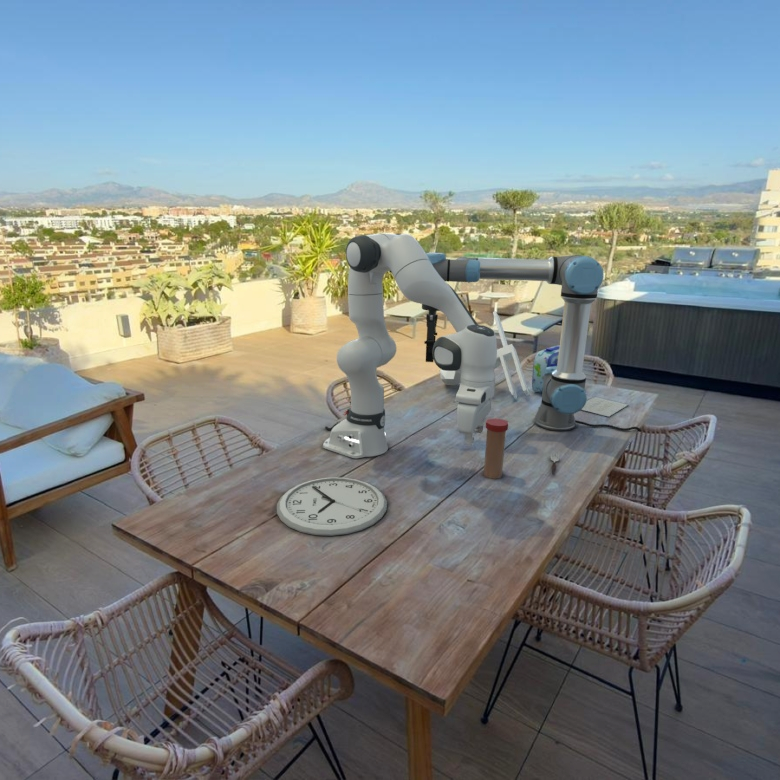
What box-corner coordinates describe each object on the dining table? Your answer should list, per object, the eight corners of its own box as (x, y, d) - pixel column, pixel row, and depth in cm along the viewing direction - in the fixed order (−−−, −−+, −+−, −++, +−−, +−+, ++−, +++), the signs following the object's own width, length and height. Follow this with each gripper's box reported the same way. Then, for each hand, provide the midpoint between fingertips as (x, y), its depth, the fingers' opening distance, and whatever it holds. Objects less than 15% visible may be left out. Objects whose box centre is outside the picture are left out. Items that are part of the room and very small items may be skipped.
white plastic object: (461, 429, 252) (437, 405, 227) (444, 352, 274) (420, 323, 250) (535, 404, 240) (518, 377, 215) (510, 326, 262) (492, 293, 237)
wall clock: (392, 527, 129) (268, 531, 127) (391, 533, 130) (269, 537, 127) (383, 473, 158) (282, 475, 155) (383, 478, 158) (282, 480, 156)
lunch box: (548, 398, 236) (553, 353, 229) (527, 393, 243) (531, 349, 237) (575, 387, 253) (581, 344, 247) (555, 382, 260) (560, 341, 254)
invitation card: (608, 416, 214) (573, 407, 224) (608, 416, 214) (573, 408, 224) (628, 404, 229) (594, 396, 238) (628, 405, 229) (594, 397, 238)
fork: (547, 475, 162) (548, 469, 162) (551, 455, 176) (551, 449, 176) (556, 476, 161) (557, 470, 161) (559, 456, 176) (560, 451, 175)
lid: (508, 425, 160) (509, 419, 159) (506, 433, 154) (507, 427, 153) (487, 423, 162) (487, 417, 161) (484, 430, 156) (484, 424, 155)
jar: (502, 472, 164) (507, 421, 159) (500, 479, 159) (505, 427, 154) (485, 469, 166) (489, 419, 161) (482, 477, 161) (486, 425, 156)
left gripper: (476, 377, 146) (473, 423, 150) (453, 397, 128) (451, 449, 132) (498, 380, 143) (495, 427, 148) (478, 401, 126) (475, 453, 130)
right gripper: (424, 293, 195) (422, 349, 202) (419, 302, 172) (417, 365, 178) (444, 294, 195) (441, 350, 201) (442, 303, 171) (439, 366, 177)
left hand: (474, 437), depth 140 cm, fingers open, 8 cm apart
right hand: (430, 357), depth 190 cm, fingers open, 13 cm apart
